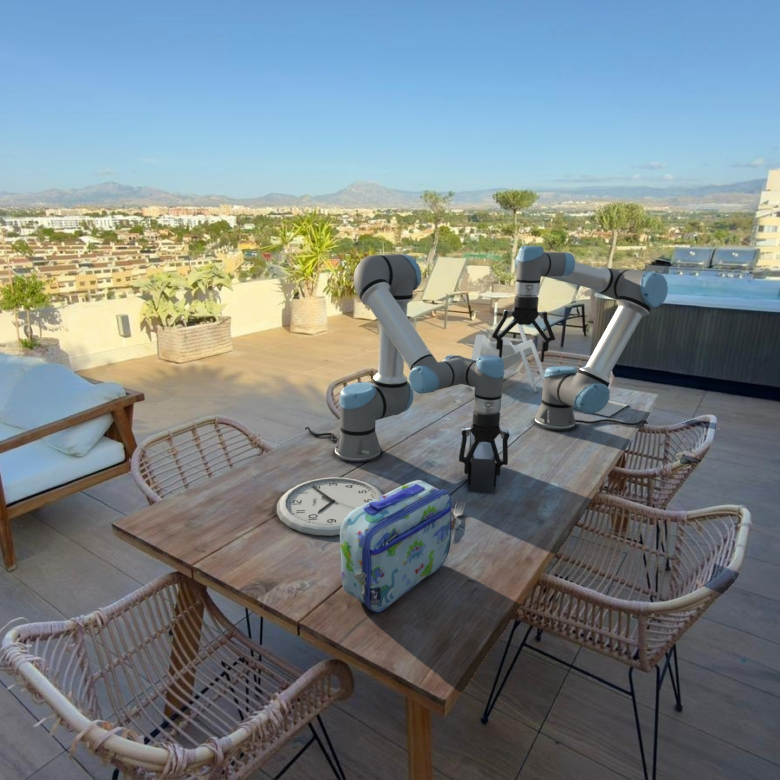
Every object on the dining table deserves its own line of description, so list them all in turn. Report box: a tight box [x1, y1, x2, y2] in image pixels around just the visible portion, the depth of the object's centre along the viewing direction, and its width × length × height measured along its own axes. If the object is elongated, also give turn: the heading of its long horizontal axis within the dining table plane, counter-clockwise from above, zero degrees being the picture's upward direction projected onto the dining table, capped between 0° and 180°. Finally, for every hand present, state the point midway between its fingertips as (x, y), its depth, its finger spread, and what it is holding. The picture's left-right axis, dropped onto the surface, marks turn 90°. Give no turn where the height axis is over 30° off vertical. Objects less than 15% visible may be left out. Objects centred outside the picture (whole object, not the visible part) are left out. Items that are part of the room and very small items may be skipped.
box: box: [468, 432, 496, 494], centre depth 160 cm, size 22×7×10 cm, turn 173°
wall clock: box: [276, 476, 385, 537], centre depth 142 cm, size 30×2×30 cm
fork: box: [451, 500, 466, 531], centre depth 135 cm, size 3×16×2 cm, turn 160°
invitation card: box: [594, 399, 629, 418], centre depth 226 cm, size 21×1×15 cm
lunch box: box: [339, 479, 452, 613], centre depth 109 cm, size 26×11×21 cm, turn 134°
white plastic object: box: [470, 307, 545, 392], centre depth 256 cm, size 37×45×31 cm
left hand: (481, 484), depth 154 cm, fingers closed on box, 7 cm apart
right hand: (520, 360), depth 174 cm, fingers open, 13 cm apart
